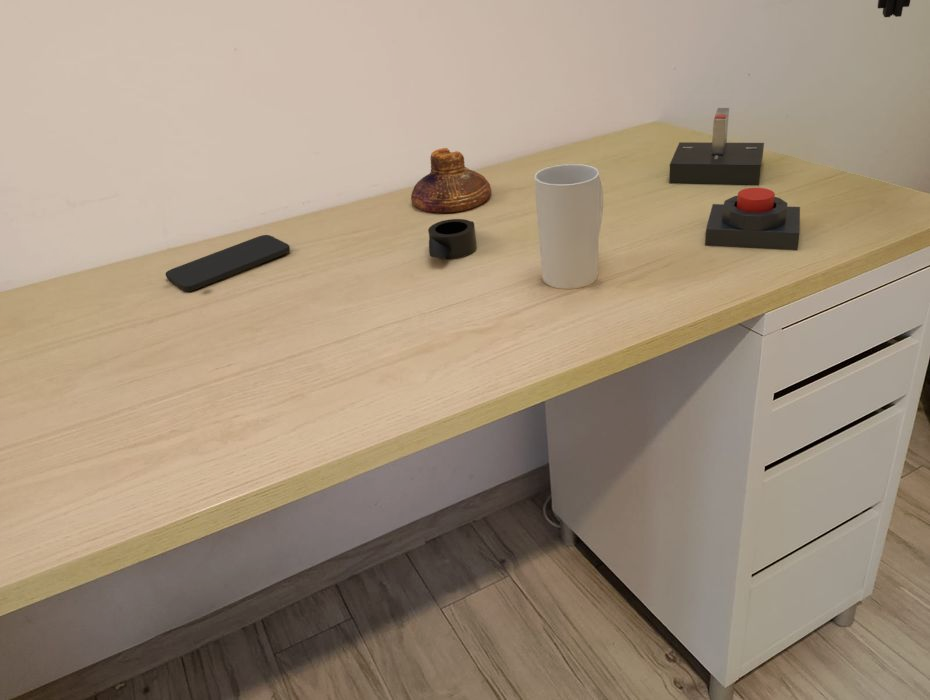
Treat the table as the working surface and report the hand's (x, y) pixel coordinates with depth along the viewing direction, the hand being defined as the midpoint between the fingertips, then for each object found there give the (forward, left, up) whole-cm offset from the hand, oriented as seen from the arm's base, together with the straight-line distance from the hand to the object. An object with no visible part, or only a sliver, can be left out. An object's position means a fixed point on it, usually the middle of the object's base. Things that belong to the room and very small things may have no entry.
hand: (891, 14), depth 83 cm
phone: (+75, +30, -22) cm, 84 cm away
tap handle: (+18, -12, -19) cm, 29 cm away
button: (+12, +12, -18) cm, 25 cm away
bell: (+54, +4, -22) cm, 58 cm away
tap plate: (+18, -11, -22) cm, 30 cm away
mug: (+30, +25, -22) cm, 45 cm away
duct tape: (+47, +21, -22) cm, 56 cm away
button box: (+12, +12, -22) cm, 28 cm away
